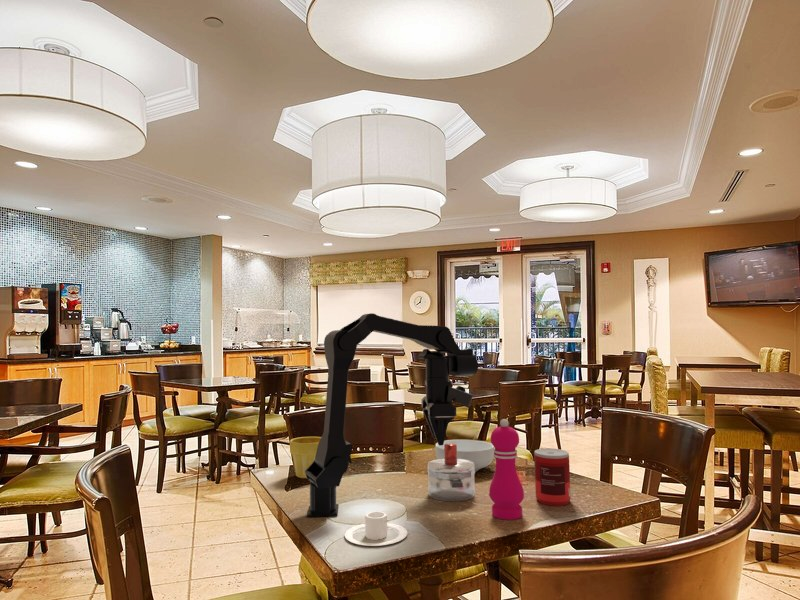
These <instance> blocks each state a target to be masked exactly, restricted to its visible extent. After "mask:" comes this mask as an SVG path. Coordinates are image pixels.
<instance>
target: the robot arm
mask: <svg viewBox="0 0 800 600" xmlns="http://www.w3.org/2000/svg"><path fill="white" fill-rule="evenodd" d="M372 332H374V333H378V334H382V335H387V336H390V337H391V336H393V337H396V338H401V339H406V340H409V341H412V342H414V343H416V344H417V345H419V346H421V347H423V348H424V349H423V350H422V352H421V353H419V354H418V355H417V359H418V360H419V359H422V360H425V380H424V385H425V395H424V396H423V398H421V408H422V412H423V415H424V416H425V419H426V422H427V424H428V426H429V430H430V432H431V435H432V437H433V438H434V439H436V443H438V445H443V444H444V441H445V440H446V435H447V430H448V425H449V423H451V422H452V421H453V420H455V418H456V417H457V407H456V406H455V404H453V402H454V403H458V404H460V405H462V406H464V407H467V408H470V406H471V403H472V399H473V397H474V395H473V394H472V393H469V392H466V387H464V386H461V385H457V387H453V386H452V385H453V383H452V382H451V381H450V375H451V376H452V377H467V376H468V377H469V376H471V377H472V376H475V375H476V374H477V372H478V370H479V369H478V368H479V362H478V359H477V357H476V355H475V354H474V349H473V348H463V349H461V348H460V346H459V345H458V344H457V342H456V341H455V339H454V338H453V334H452V332H451V329H450V328H449V327H447V326H444V325H421V324H415V323H411V322H406V321H403V320H398V319H393V318H390V317H385V316H382V315H378V314H376V313H365V314H362V315H361V316H360V317H359V318H357V319H355V320H354V321H352V322H350V323H349V324H347V325H345V326H343V327H342V328H340V329H337V330H332V331H329V332H328V333H327V334H326V335H325V337H324V340H323V345H324V349H323V350H324V356H325V361H326V364H327V369H328V371H327V372H328V373H327V384H326V385H327V386H326V395H325V397H326V400H325V411H324V421H323V422H324V423H323V426H324V427H323V433H322V435H321V436H320V437H321V439H320V442H319V444H318V448H317V452H316V456H315V460H314V461H313V462H312V464H311V465H310V466H309V467H308V468H307V469H306V471H305V474H306V477H307V478H306V479H307V481H310V483H309V506H308V509H307V513H306V517H309V518H310V517H313V518H314V517H330V516H332V517H334V516H335V517H336V516H338V515H339V504H338V503H337V487H340V484H341V482H342V479H343V475H344V474H345V473H347V472H348V470H349V464H352V461H353V460H352V457H351V454H352V450H353V444H352V443H350V442H348V441H347V440H346V438H345V425H346V424H345V421H346V408H347V396H348V395H347V393H348V384H349V383H348V381H349V371H350V367H351V366H352V363H353V362H354V359H355V355H356V353H357V352H356V351H357V347H358V345H359V344H360V343H362V342H363V341H364V340H366V339H367V337H368V336H369V335H370V334H372ZM430 350H434V351H430ZM444 354H446V355H444Z"/></svg>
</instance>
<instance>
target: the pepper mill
mask: <svg viewBox="0 0 800 600" xmlns="http://www.w3.org/2000/svg"><path fill="white" fill-rule="evenodd" d="M499 422H500V423H499V425H500V426H497V427H496V428H494V429H493V430H492V431H491V434H490V443H491V444H492V445H493V446H494V450H493V452H494V454H493V456H494V457H493V458H495V470H494V474H493V476H492V480H491V481H490V485H489V491H488V492H489V493H488V495H489V498H490V500H491V501H492V502H493V504H492V505H491V513H492V516H493V517H494V518H497V519H500V520H510V521H511V520H518V519H521V518H522V516H523V507H522V505H521V503H522V502H523V500H524V498H525V493H524V488H523V484H522V482H521V480H520V478H519V475H518V473H517V469H516V459H517V457H518V454H517V453H518V450H517V449H516V448H517V447H518V446H519V443H520V437H519V434H518V431H516V430H515V428H513V427H512V426H509V424H510V423H509V421H508V419H506V418H502V419H500V421H499Z"/></svg>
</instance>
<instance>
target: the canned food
mask: <svg viewBox="0 0 800 600" xmlns="http://www.w3.org/2000/svg"><path fill="white" fill-rule="evenodd" d="M569 454H570V453H569V452H568V451H567V450H564V449H562V448H561V449H559V448H553V447H552V448H546V447H545V448H544V447H543V448H539V449H535V450H534V458H533V460H534V481H535V482H534V483H535V484H534V485H535V486H534V487H535V498H536V500H537V501H538V502H537V503H540V504H543V505H545V506H552V507H554V506H556V507H561V506H567V505H568V504H570V501H571V473H570V471H571V470H570V455H569Z"/></svg>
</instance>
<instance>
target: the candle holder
mask: <svg viewBox="0 0 800 600" xmlns="http://www.w3.org/2000/svg"><path fill="white" fill-rule="evenodd" d="M364 520H365V521H364V522H365V523H362V524H357V525H354V526H352V527H350V528H348V529H347V530H346V531H345V533H344V537H345V539H346V540H347V541H349V542H350V543H352V544H355V545H359V546H365V547H379V546H380V547H381V546H382V547H383V546H389V545H392V544H395V543H398V542H401V541H402V540H404V539H405V538H406V537H407V536H408V531H407V529H406V528H405V527H403V526H401V525H398V524H395V523H389V522H388V514H387V513H385V512H383V511H370V512H367V513H366V514H365V515H364ZM389 528H392V529H391V530H393V529H395V530H396V531H397V532H398V533H397V532H396V531H395V530H394V531H395V532H396V533H397V536H396V537H395V538H394V539H391V540H388V541H383V542H364V541H359V540H357V539H355V538H354V537H353V536H354V535H355V533H357V532H358V531H361V530H364V532H365V533H364V534H365V535H364V536H365V538H366V539H368V540H372V541H374V540H375V541H379V540H378V539H380V540H383V538H384V539H385V537H386V536H388V529H389ZM398 534H399V535H398ZM386 538H387V537H386Z"/></svg>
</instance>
